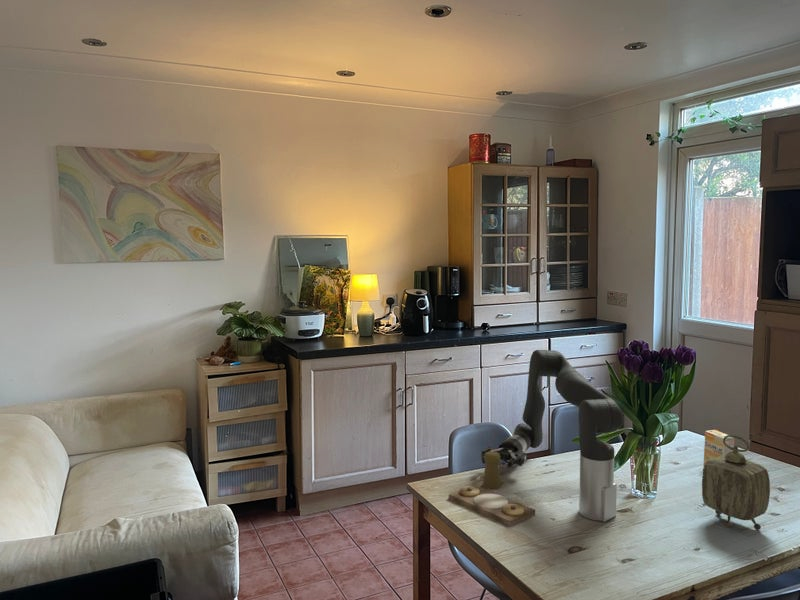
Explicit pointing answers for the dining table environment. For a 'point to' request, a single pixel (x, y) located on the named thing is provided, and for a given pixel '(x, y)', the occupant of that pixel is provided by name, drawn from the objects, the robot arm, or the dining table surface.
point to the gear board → (492, 505)
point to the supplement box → (716, 444)
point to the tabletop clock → (736, 485)
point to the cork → (492, 470)
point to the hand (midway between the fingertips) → (495, 462)
